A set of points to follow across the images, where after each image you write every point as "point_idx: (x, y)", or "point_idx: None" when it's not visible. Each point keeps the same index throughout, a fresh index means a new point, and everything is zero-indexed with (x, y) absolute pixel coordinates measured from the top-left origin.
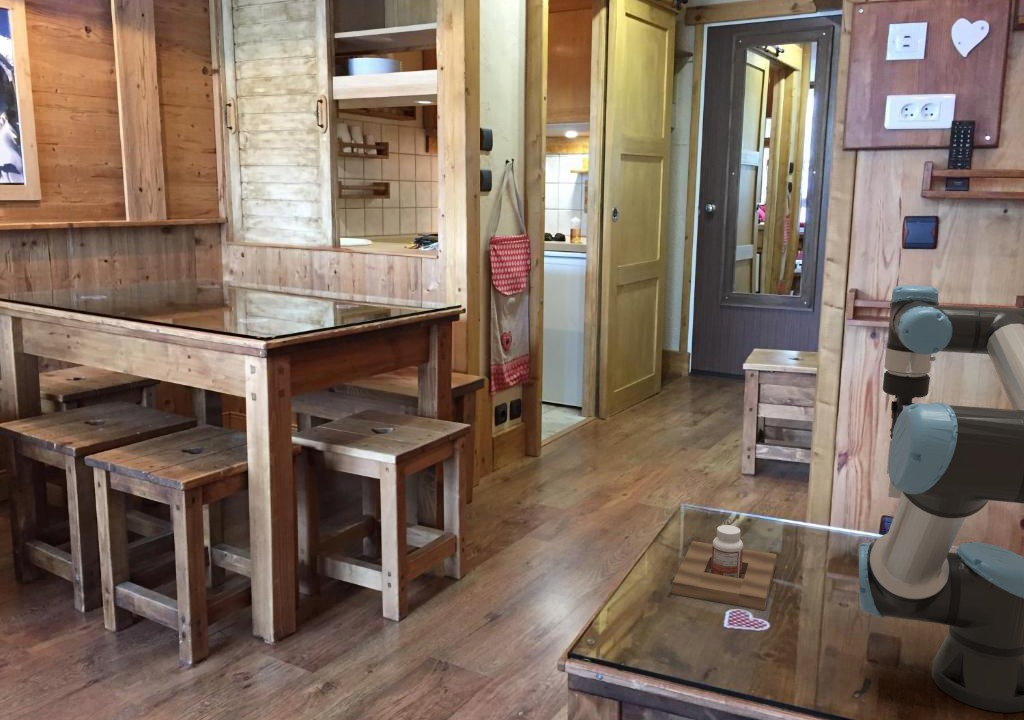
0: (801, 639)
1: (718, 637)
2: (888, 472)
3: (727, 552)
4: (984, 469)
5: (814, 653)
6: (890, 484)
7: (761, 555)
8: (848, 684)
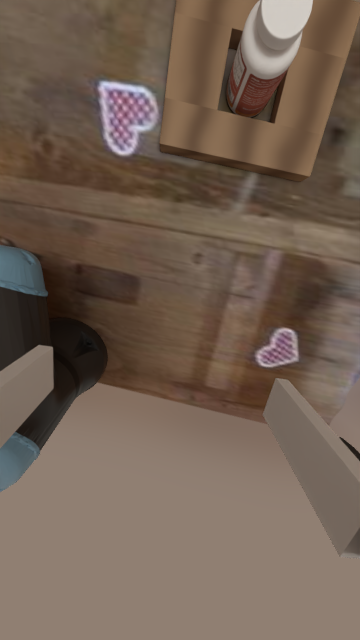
0: (99, 195)
1: (66, 70)
2: (276, 384)
3: (240, 40)
4: None
5: (71, 207)
6: (5, 369)
7: (303, 149)
8: (20, 236)
